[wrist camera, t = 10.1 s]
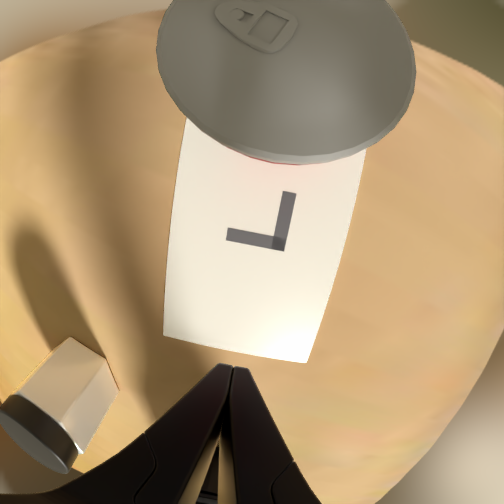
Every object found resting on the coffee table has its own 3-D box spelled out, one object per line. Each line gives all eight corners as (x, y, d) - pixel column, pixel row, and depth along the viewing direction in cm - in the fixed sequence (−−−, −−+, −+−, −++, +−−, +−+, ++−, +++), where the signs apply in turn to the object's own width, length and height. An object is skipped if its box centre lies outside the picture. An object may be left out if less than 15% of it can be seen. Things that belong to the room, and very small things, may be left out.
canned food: (234, 44, 15) (197, -57, 5) (350, 75, 16) (427, 0, 5) (204, 147, 18) (121, 132, 7) (323, 179, 18) (390, 202, 7)
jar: (53, 370, 26) (1, 433, 15) (55, 323, 24) (-16, 391, 12) (115, 408, 27) (73, 485, 15) (126, 368, 24) (70, 460, 13)
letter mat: (305, 360, 22) (306, 363, 22) (164, 333, 23) (163, 335, 22) (373, 96, 16) (375, 95, 16) (200, 62, 16) (199, 61, 16)
